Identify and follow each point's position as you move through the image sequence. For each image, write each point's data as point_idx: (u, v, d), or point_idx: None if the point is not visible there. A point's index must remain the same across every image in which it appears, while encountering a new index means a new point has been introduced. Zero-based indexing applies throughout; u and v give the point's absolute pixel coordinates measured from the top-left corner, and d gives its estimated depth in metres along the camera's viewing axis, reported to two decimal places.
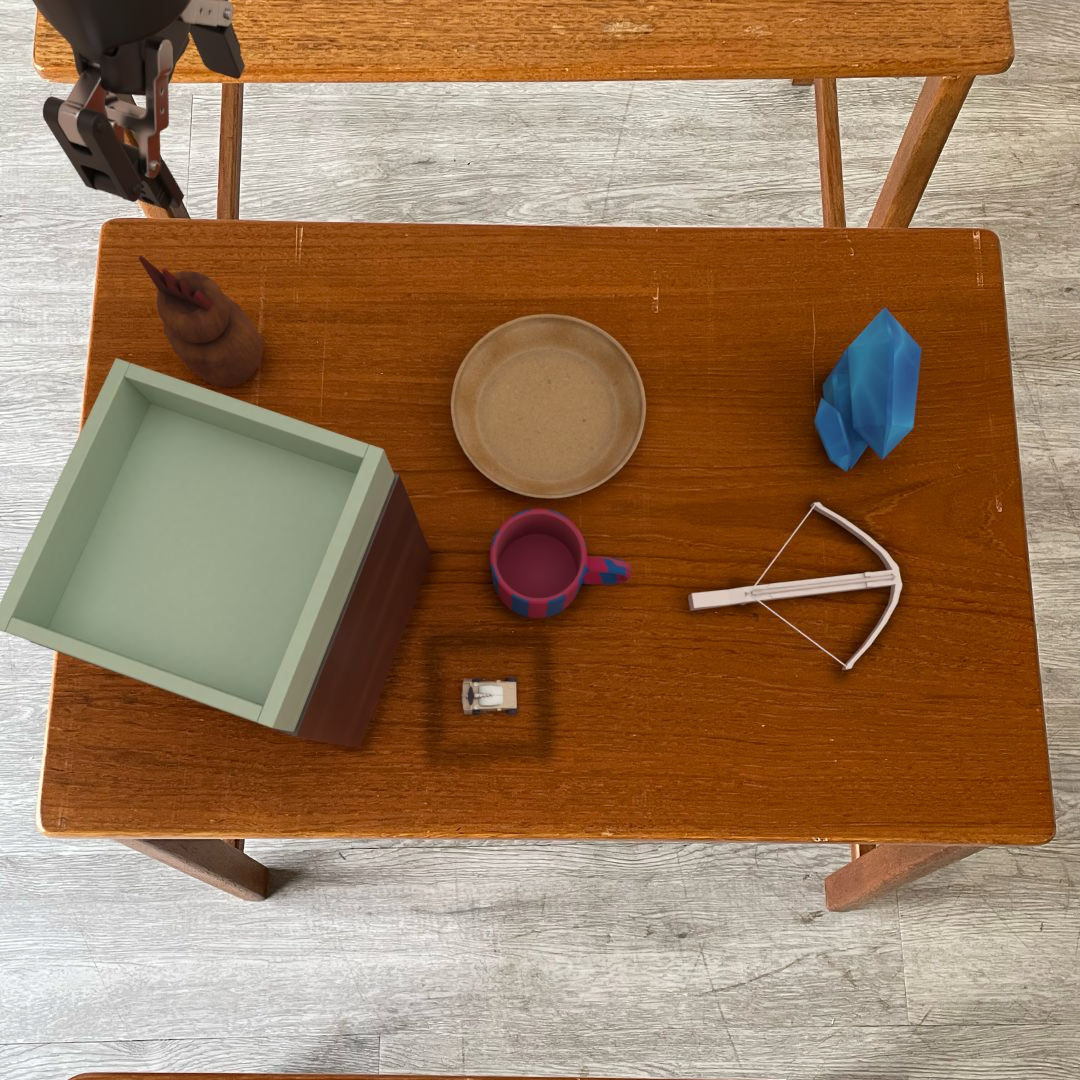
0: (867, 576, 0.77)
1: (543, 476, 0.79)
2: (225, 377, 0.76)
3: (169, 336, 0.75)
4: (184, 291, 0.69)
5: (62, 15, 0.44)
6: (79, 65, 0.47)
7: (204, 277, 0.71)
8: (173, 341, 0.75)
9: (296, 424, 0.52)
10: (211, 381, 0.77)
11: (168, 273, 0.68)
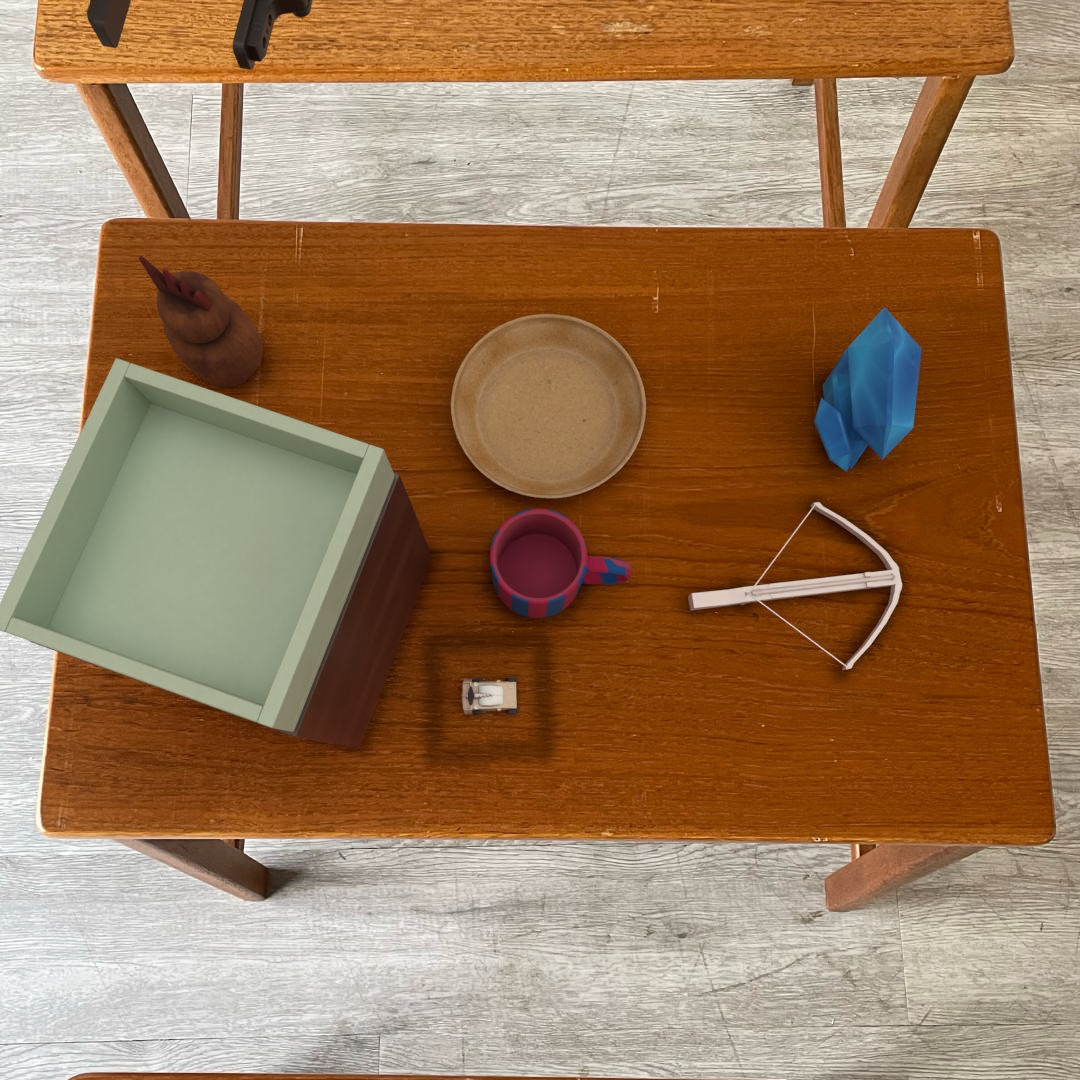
0: (867, 576, 0.77)
1: (543, 476, 0.79)
2: (225, 377, 0.76)
3: (169, 336, 0.75)
4: (184, 291, 0.69)
5: None
6: None
7: (204, 277, 0.71)
8: (173, 341, 0.75)
9: (296, 424, 0.52)
10: (211, 381, 0.77)
11: (168, 273, 0.68)
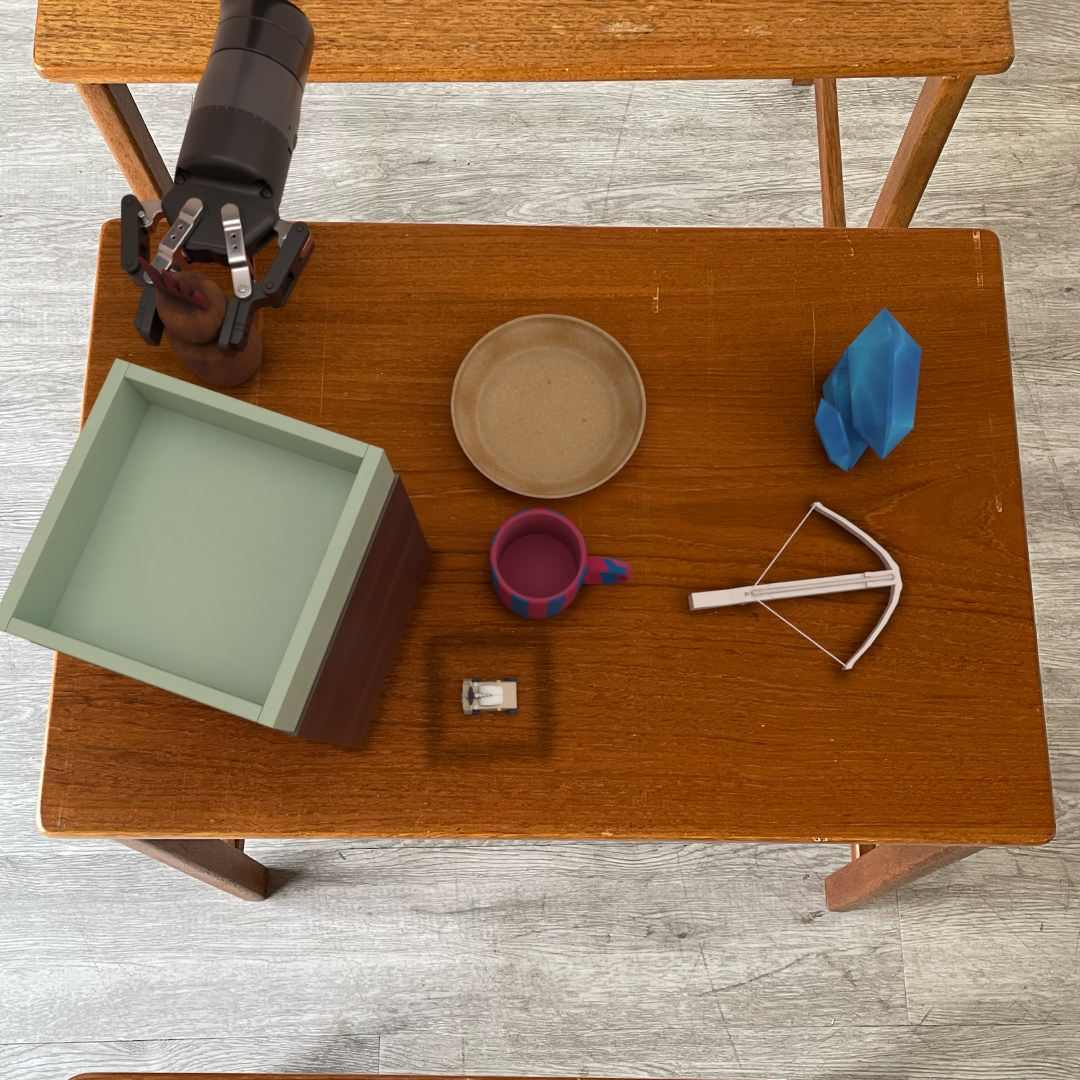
0: (867, 576, 0.77)
1: (543, 476, 0.79)
2: (225, 377, 0.76)
3: (169, 336, 0.75)
4: (183, 291, 0.69)
5: (283, 175, 0.75)
6: (276, 209, 0.74)
7: (203, 277, 0.71)
8: (173, 341, 0.75)
9: (296, 424, 0.52)
10: (211, 381, 0.77)
11: (167, 273, 0.68)
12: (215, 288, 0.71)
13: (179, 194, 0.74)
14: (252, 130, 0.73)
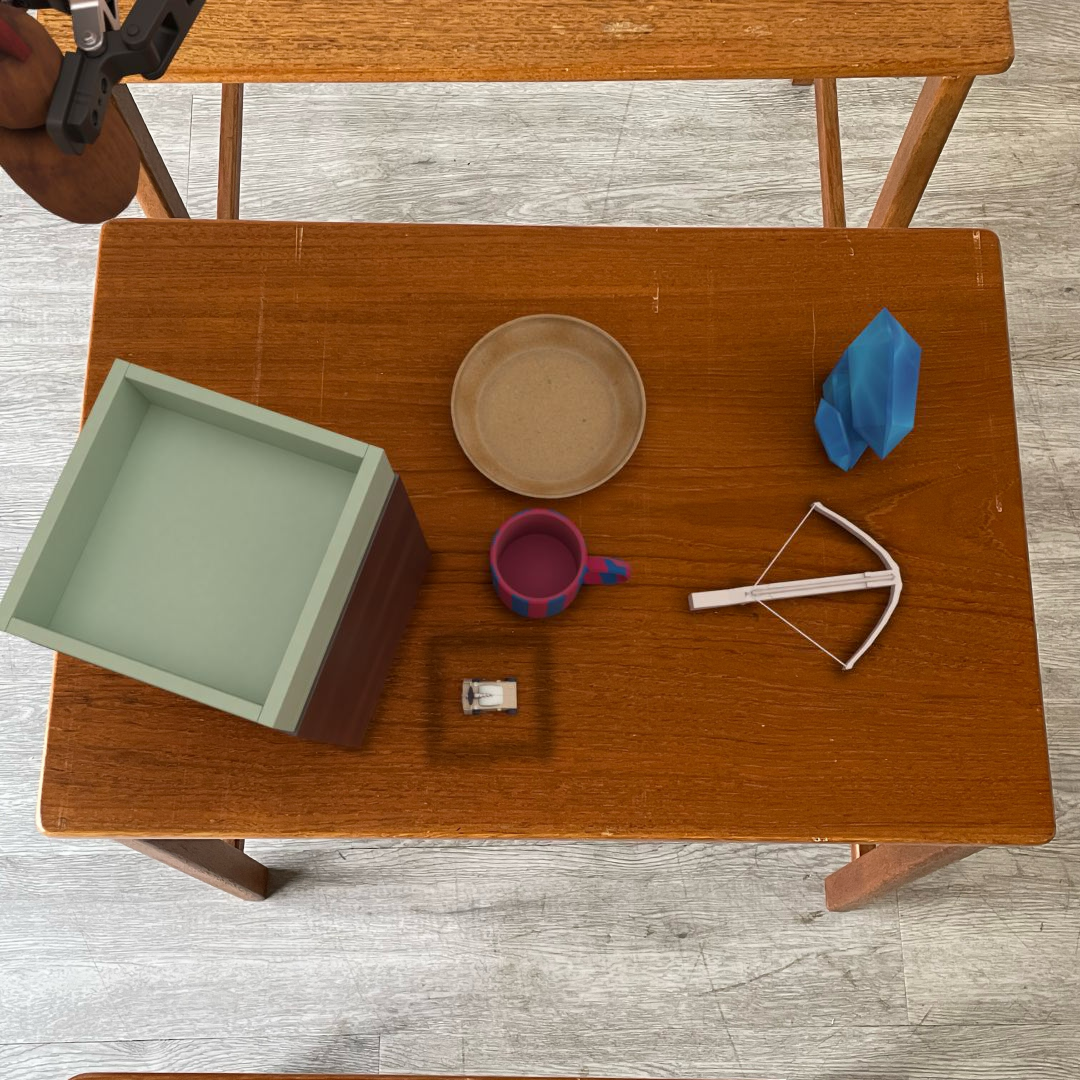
0: (867, 576, 0.77)
1: (543, 476, 0.79)
2: (74, 197, 0.48)
3: None
4: None
5: None
6: None
7: (20, 11, 0.43)
8: None
9: (296, 424, 0.52)
10: (53, 206, 0.49)
11: None
12: (40, 29, 0.43)
13: None
14: None
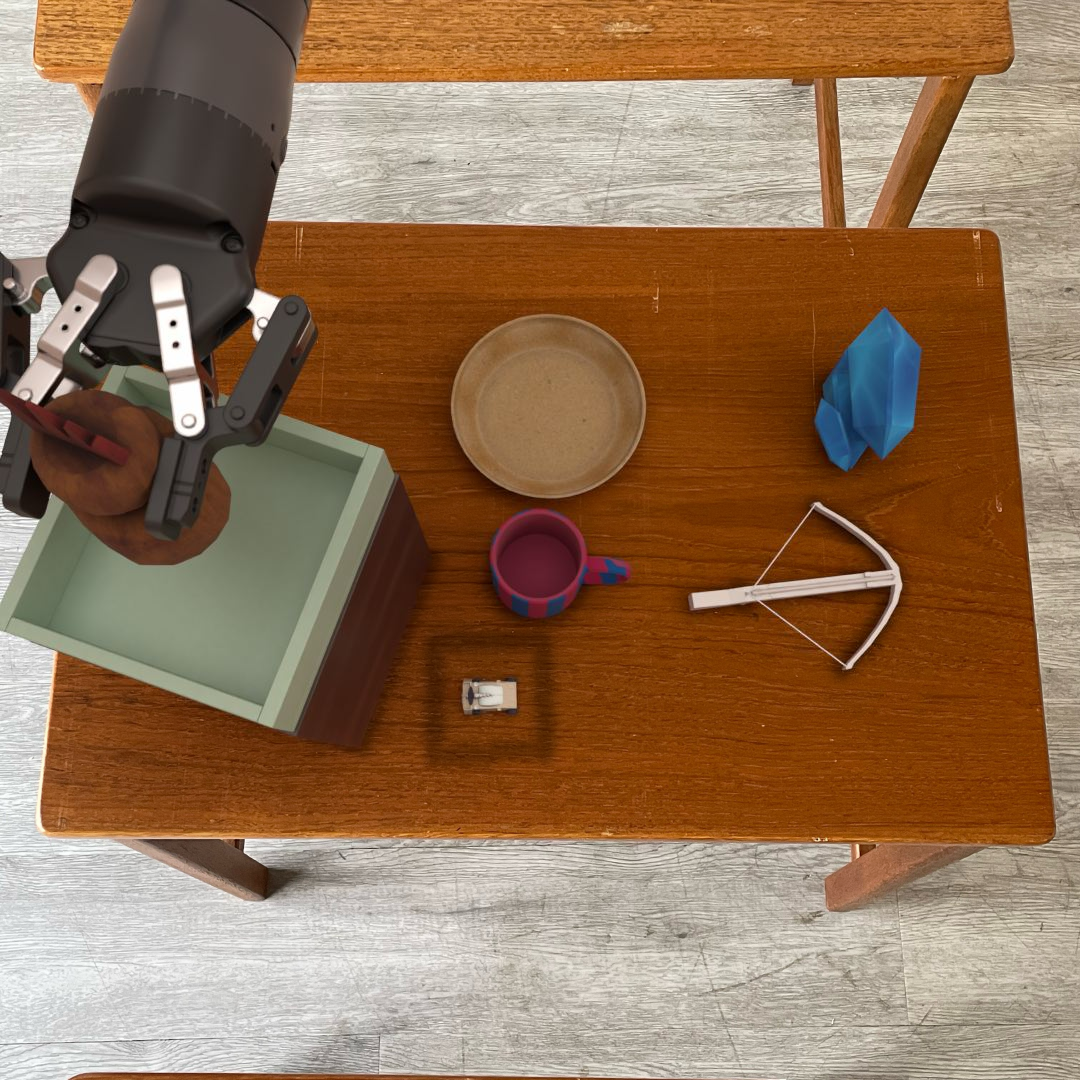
0: (867, 576, 0.77)
1: (543, 476, 0.79)
2: (165, 559, 0.44)
3: None
4: (74, 437, 0.37)
5: (263, 210, 0.43)
6: (250, 273, 0.42)
7: (116, 402, 0.39)
8: None
9: (296, 424, 0.52)
10: (141, 564, 0.45)
11: (38, 409, 0.35)
12: (138, 422, 0.39)
13: (77, 247, 0.42)
14: (205, 133, 0.40)
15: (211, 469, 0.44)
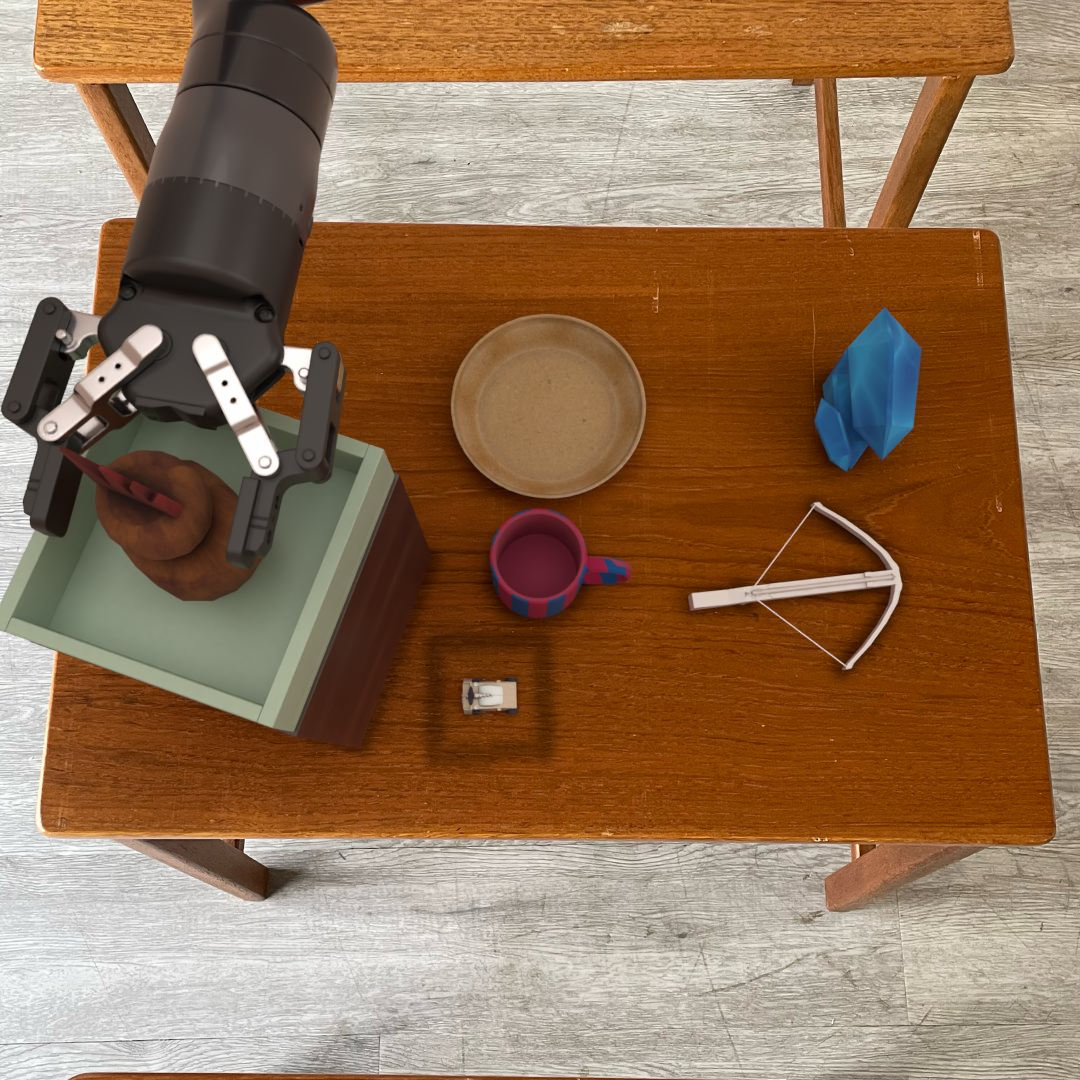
0: (867, 576, 0.77)
1: (543, 476, 0.79)
2: (207, 596, 0.50)
3: None
4: (137, 494, 0.42)
5: (292, 282, 0.48)
6: (280, 340, 0.47)
7: (171, 462, 0.45)
8: None
9: (296, 424, 0.52)
10: (185, 600, 0.50)
11: (109, 472, 0.41)
12: (190, 479, 0.45)
13: (128, 318, 0.46)
14: (242, 217, 0.45)
15: None
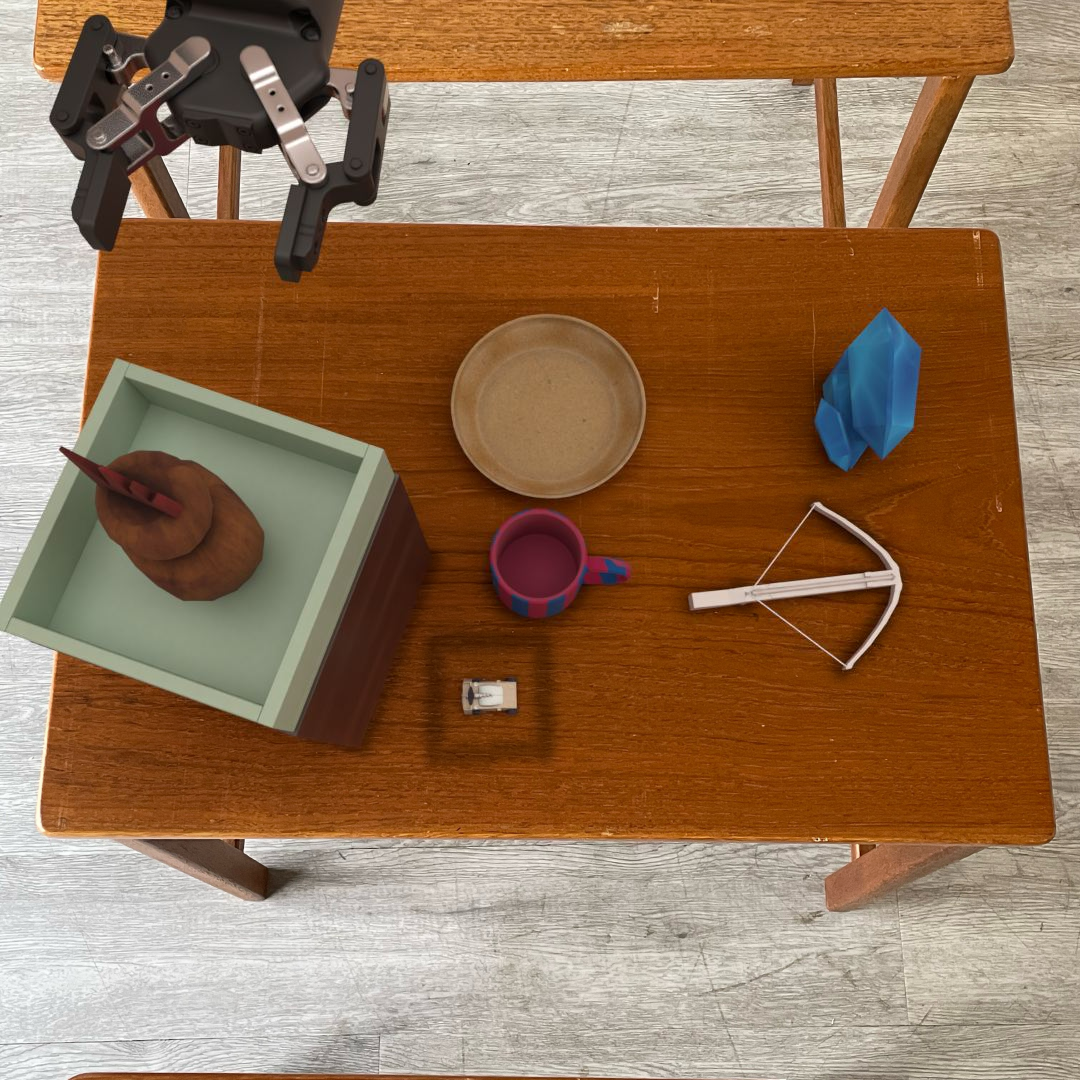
0: (867, 576, 0.77)
1: (543, 476, 0.79)
2: (207, 596, 0.50)
3: None
4: (137, 494, 0.42)
5: (336, 10, 0.48)
6: (326, 60, 0.47)
7: (171, 462, 0.45)
8: None
9: (296, 424, 0.52)
10: (185, 600, 0.50)
11: (109, 472, 0.41)
12: (190, 479, 0.45)
13: (175, 36, 0.47)
14: None
15: (249, 517, 0.50)
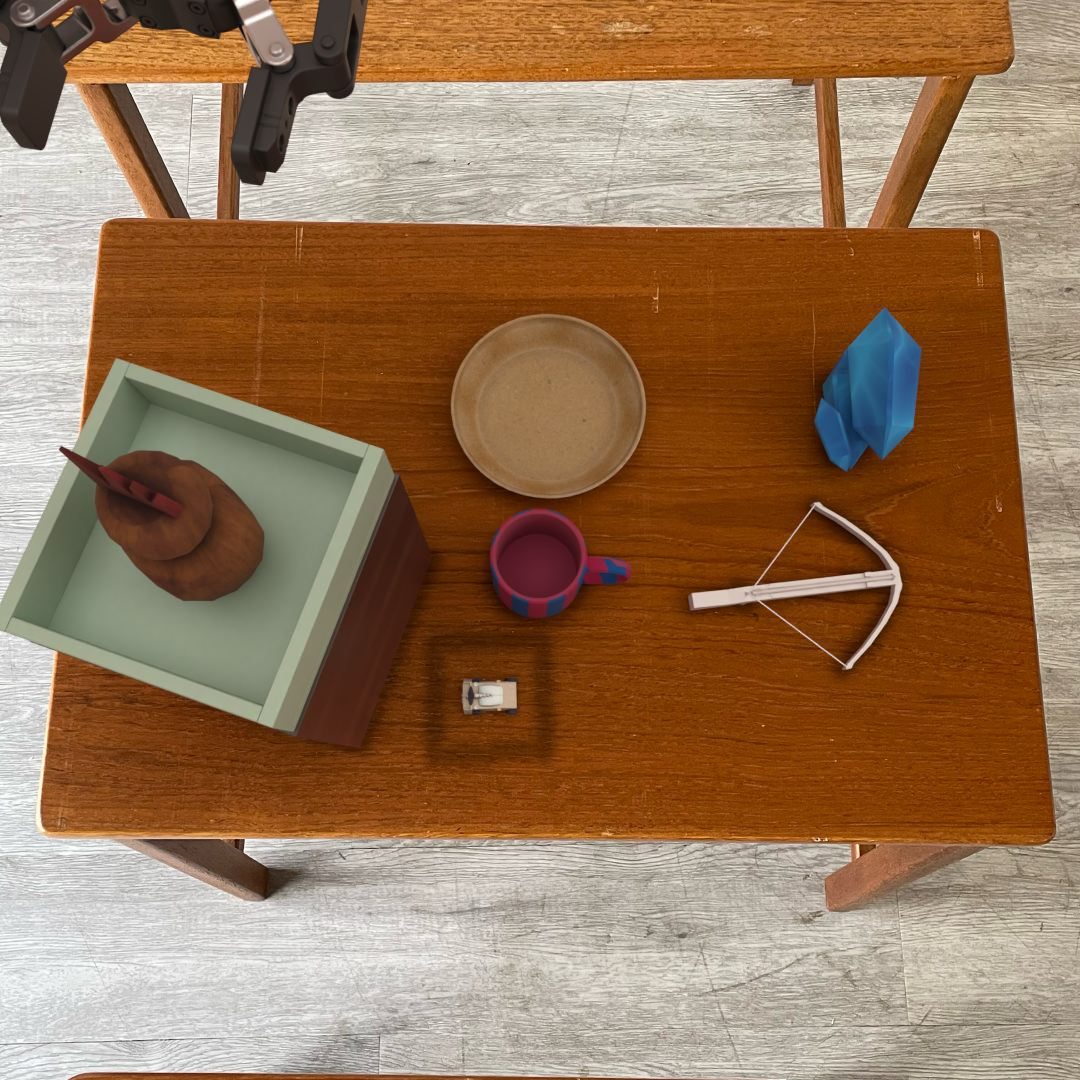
0: (867, 576, 0.77)
1: (543, 476, 0.79)
2: (206, 596, 0.50)
3: None
4: (137, 494, 0.42)
5: None
6: None
7: (171, 462, 0.45)
8: None
9: (296, 424, 0.52)
10: (185, 600, 0.50)
11: (109, 472, 0.41)
12: (190, 479, 0.45)
13: None
14: None
15: (249, 517, 0.50)
